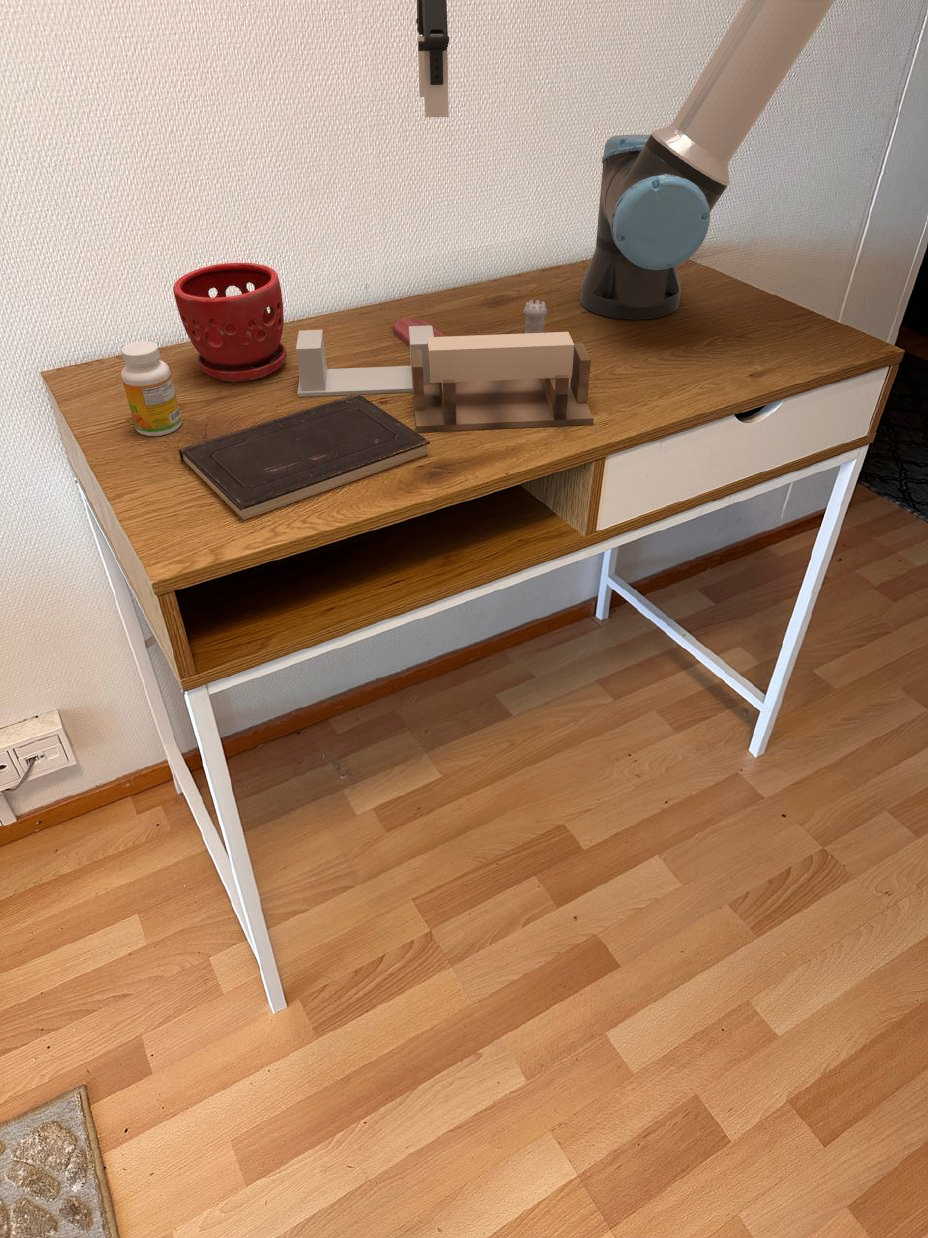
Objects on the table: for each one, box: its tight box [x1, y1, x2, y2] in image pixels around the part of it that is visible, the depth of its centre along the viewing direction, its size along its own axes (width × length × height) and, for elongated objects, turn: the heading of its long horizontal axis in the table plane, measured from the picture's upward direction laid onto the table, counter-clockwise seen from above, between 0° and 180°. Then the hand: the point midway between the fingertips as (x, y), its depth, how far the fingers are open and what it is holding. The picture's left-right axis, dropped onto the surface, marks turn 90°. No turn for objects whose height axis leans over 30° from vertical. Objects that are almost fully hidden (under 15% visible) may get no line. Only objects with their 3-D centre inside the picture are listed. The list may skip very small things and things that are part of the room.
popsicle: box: [392, 317, 448, 349], centre depth 124 cm, size 5×2×15 cm
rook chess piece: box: [522, 299, 549, 334], centre depth 116 cm, size 4×4×8 cm
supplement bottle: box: [120, 340, 182, 437], centre depth 101 cm, size 5×5×10 cm
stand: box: [295, 324, 434, 398], centre depth 112 cm, size 18×7×6 cm, turn 95°
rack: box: [411, 343, 595, 433], centre depth 107 cm, size 21×13×6 cm, turn 95°
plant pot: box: [172, 262, 287, 382], centre depth 114 cm, size 13×13×12 cm
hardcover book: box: [178, 394, 431, 521], centre depth 98 cm, size 16×23×2 cm
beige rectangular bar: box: [427, 331, 575, 383], centre depth 105 cm, size 17×4×4 cm, turn 95°
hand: (433, 106), depth 108 cm, fingers open, 13 cm apart
